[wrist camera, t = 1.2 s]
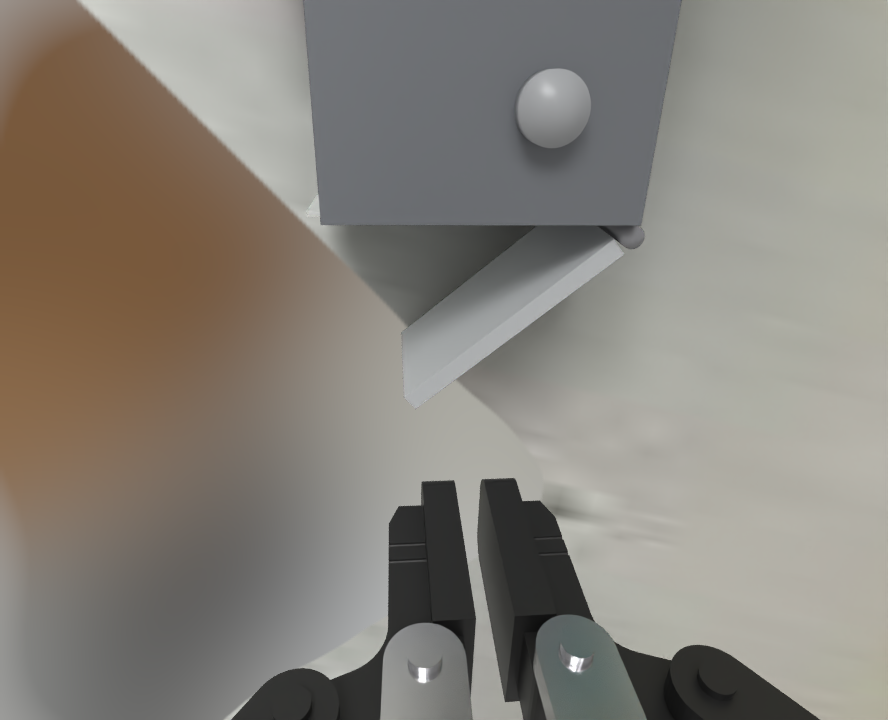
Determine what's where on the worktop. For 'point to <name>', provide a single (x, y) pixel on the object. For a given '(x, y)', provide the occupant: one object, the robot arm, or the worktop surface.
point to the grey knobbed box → (486, 109)
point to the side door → (505, 300)
